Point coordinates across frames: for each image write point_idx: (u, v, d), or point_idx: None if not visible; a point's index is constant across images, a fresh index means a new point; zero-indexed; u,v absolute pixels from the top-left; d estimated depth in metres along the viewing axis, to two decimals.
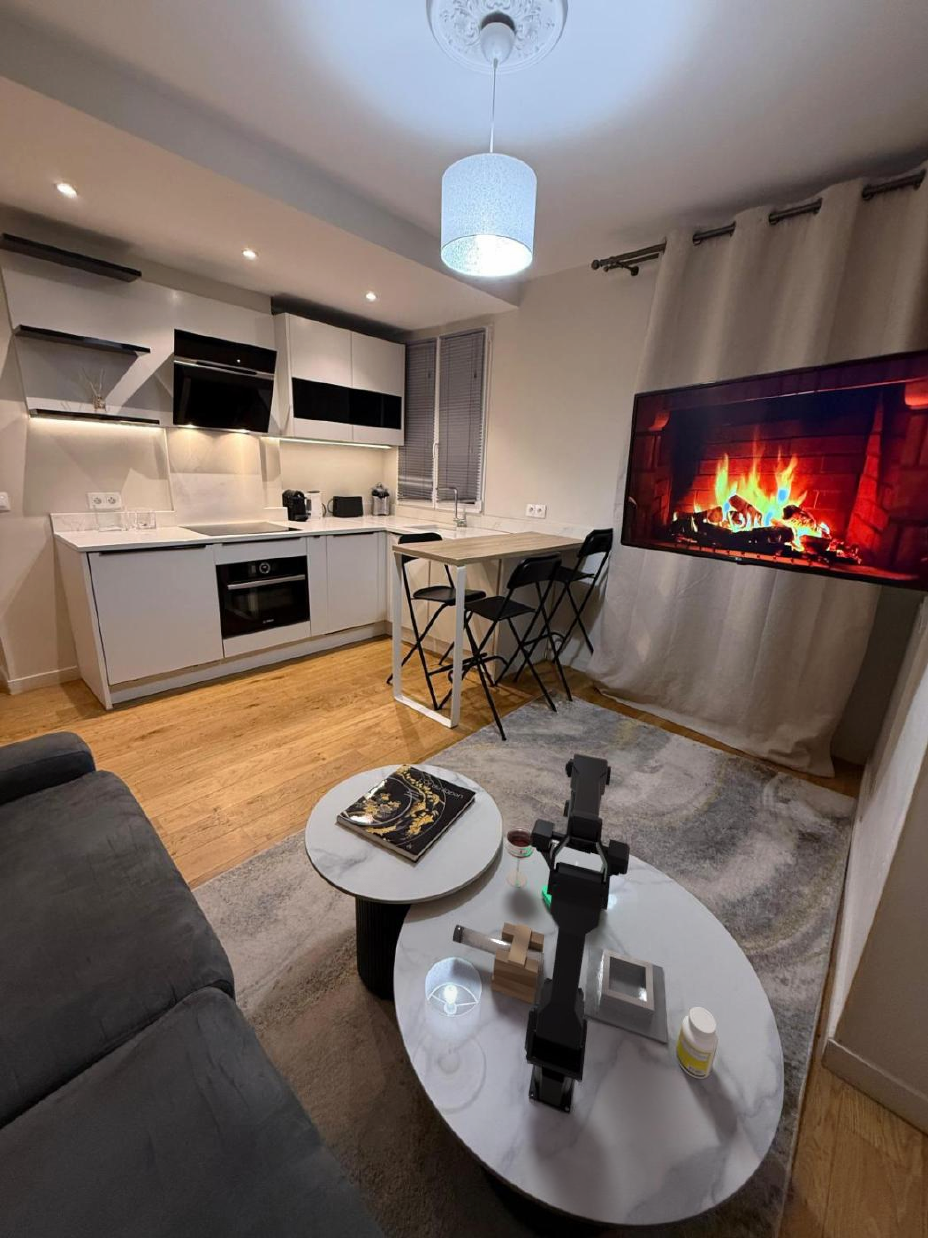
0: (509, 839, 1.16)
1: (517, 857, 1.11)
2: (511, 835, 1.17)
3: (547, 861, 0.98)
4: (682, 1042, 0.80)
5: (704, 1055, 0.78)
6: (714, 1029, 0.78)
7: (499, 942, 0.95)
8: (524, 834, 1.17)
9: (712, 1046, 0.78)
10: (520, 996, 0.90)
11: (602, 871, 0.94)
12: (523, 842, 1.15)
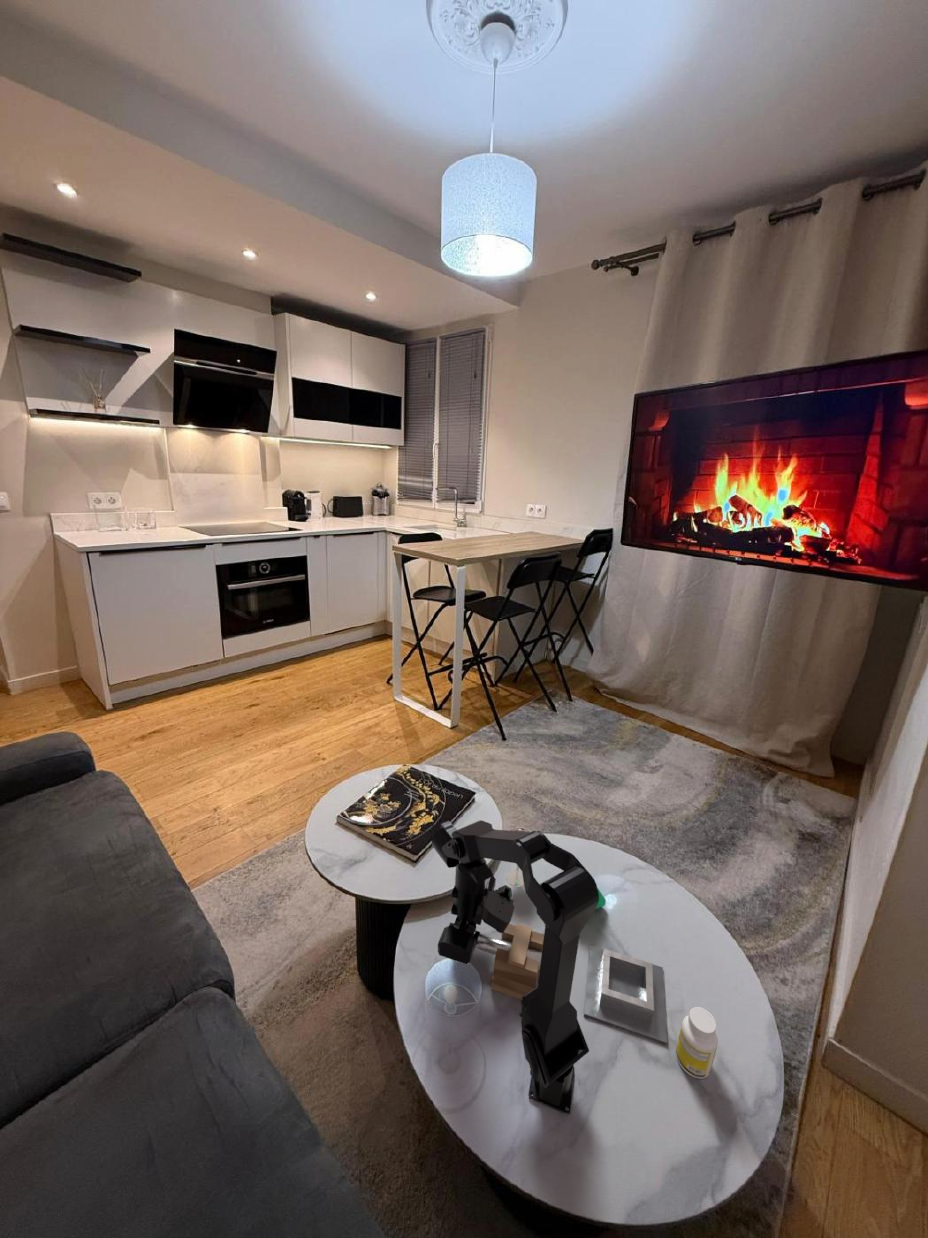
0: None
1: None
2: None
3: None
4: (682, 1042, 0.80)
5: (704, 1055, 0.78)
6: (714, 1029, 0.78)
7: (499, 942, 0.95)
8: None
9: (712, 1046, 0.78)
10: (520, 996, 0.90)
11: None
12: None
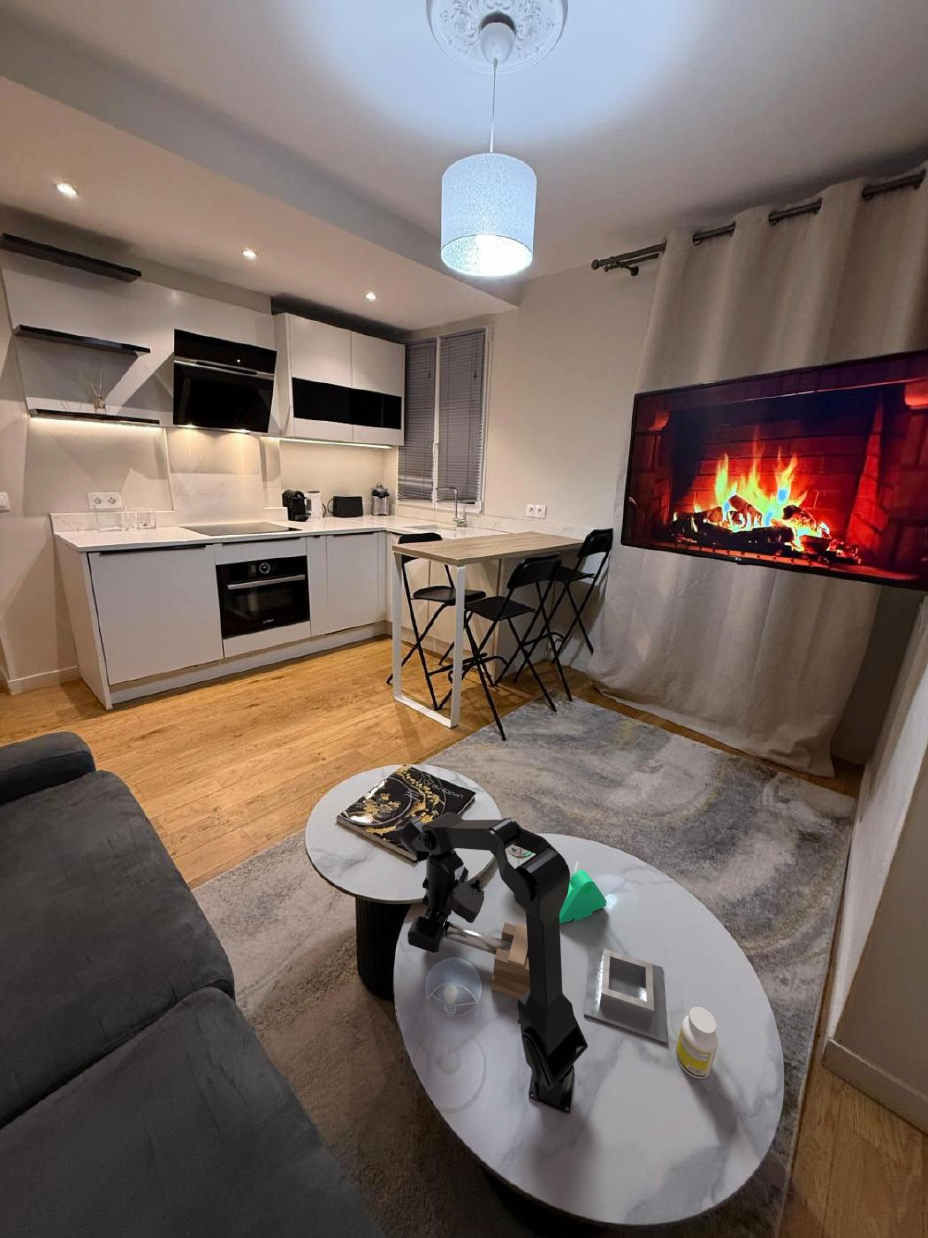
0: None
1: (517, 857, 1.11)
2: None
3: None
4: (682, 1042, 0.80)
5: (704, 1055, 0.78)
6: (714, 1029, 0.78)
7: (470, 932, 0.96)
8: None
9: (712, 1046, 0.78)
10: (520, 996, 0.90)
11: None
12: None
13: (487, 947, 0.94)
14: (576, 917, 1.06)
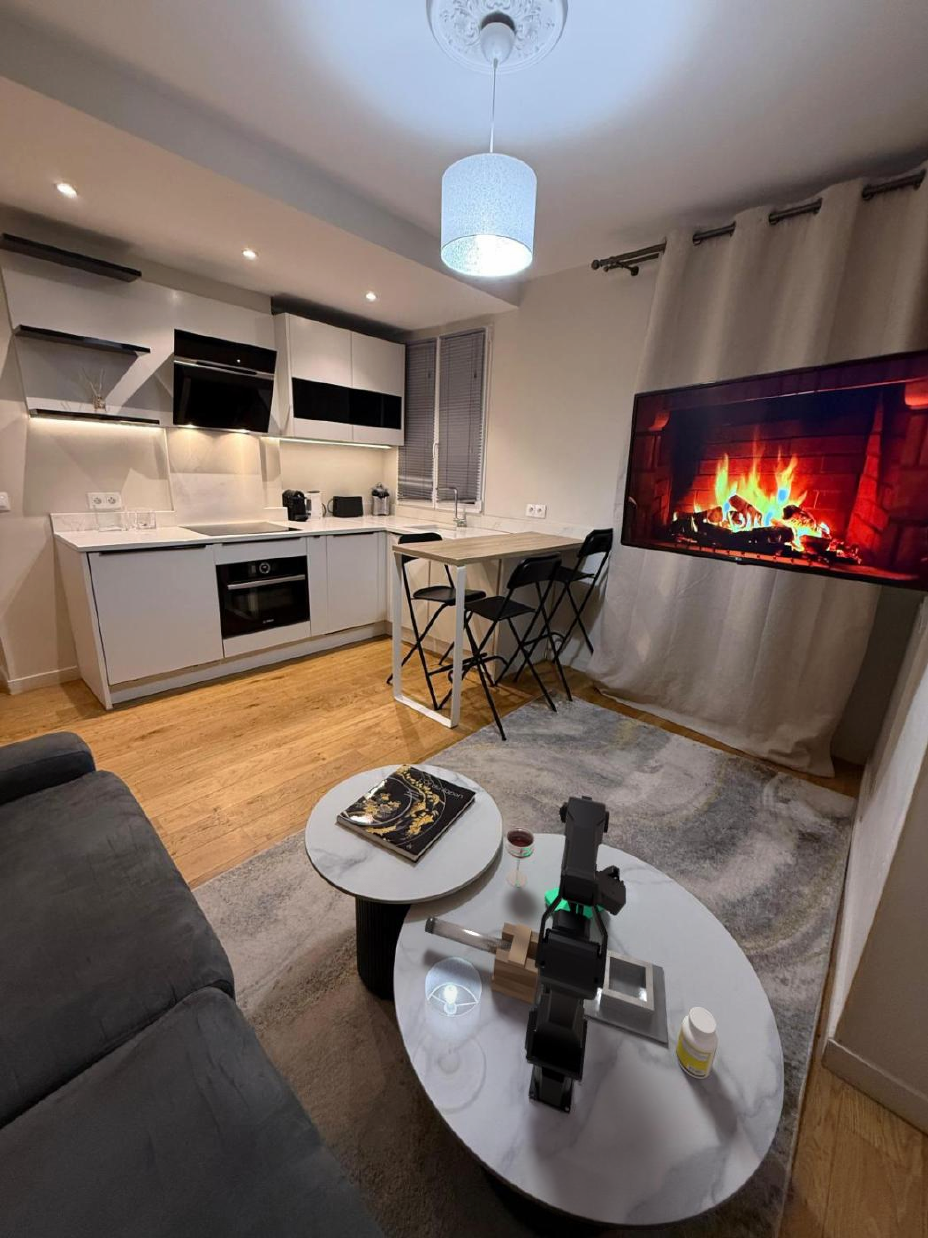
0: (509, 839, 1.16)
1: (517, 857, 1.11)
2: (511, 835, 1.17)
3: None
4: (682, 1042, 0.80)
5: (704, 1055, 0.78)
6: (714, 1029, 0.78)
7: (470, 932, 0.96)
8: (524, 834, 1.17)
9: (712, 1046, 0.78)
10: (520, 996, 0.90)
11: None
12: (523, 842, 1.15)
13: (487, 947, 0.94)
14: None
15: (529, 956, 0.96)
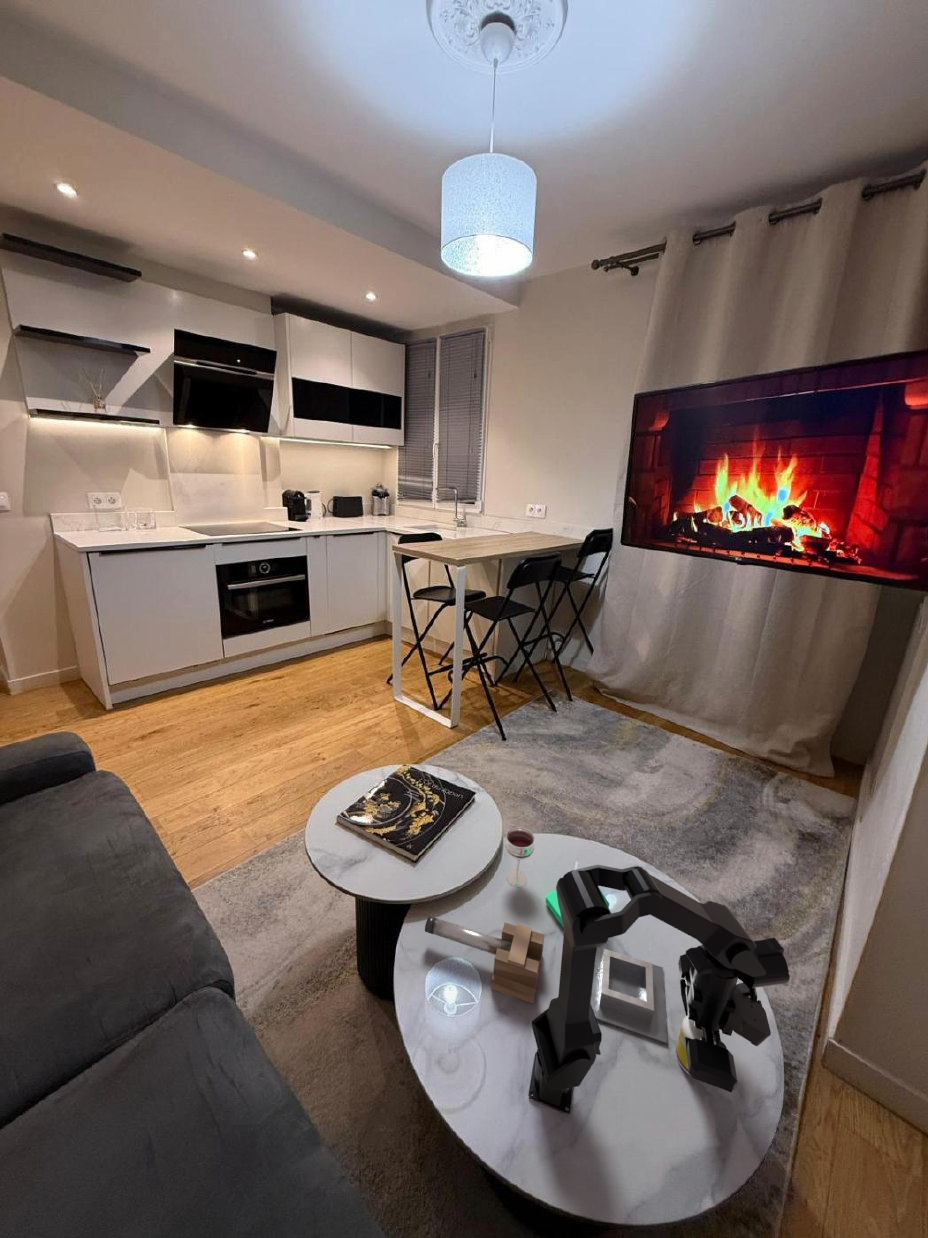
0: (509, 839, 1.16)
1: (517, 857, 1.11)
2: (511, 835, 1.17)
3: None
4: (682, 1042, 0.80)
5: None
6: None
7: (470, 932, 0.96)
8: (524, 834, 1.17)
9: None
10: (520, 996, 0.90)
11: None
12: (523, 842, 1.15)
13: (487, 947, 0.94)
14: None
15: (529, 956, 0.96)
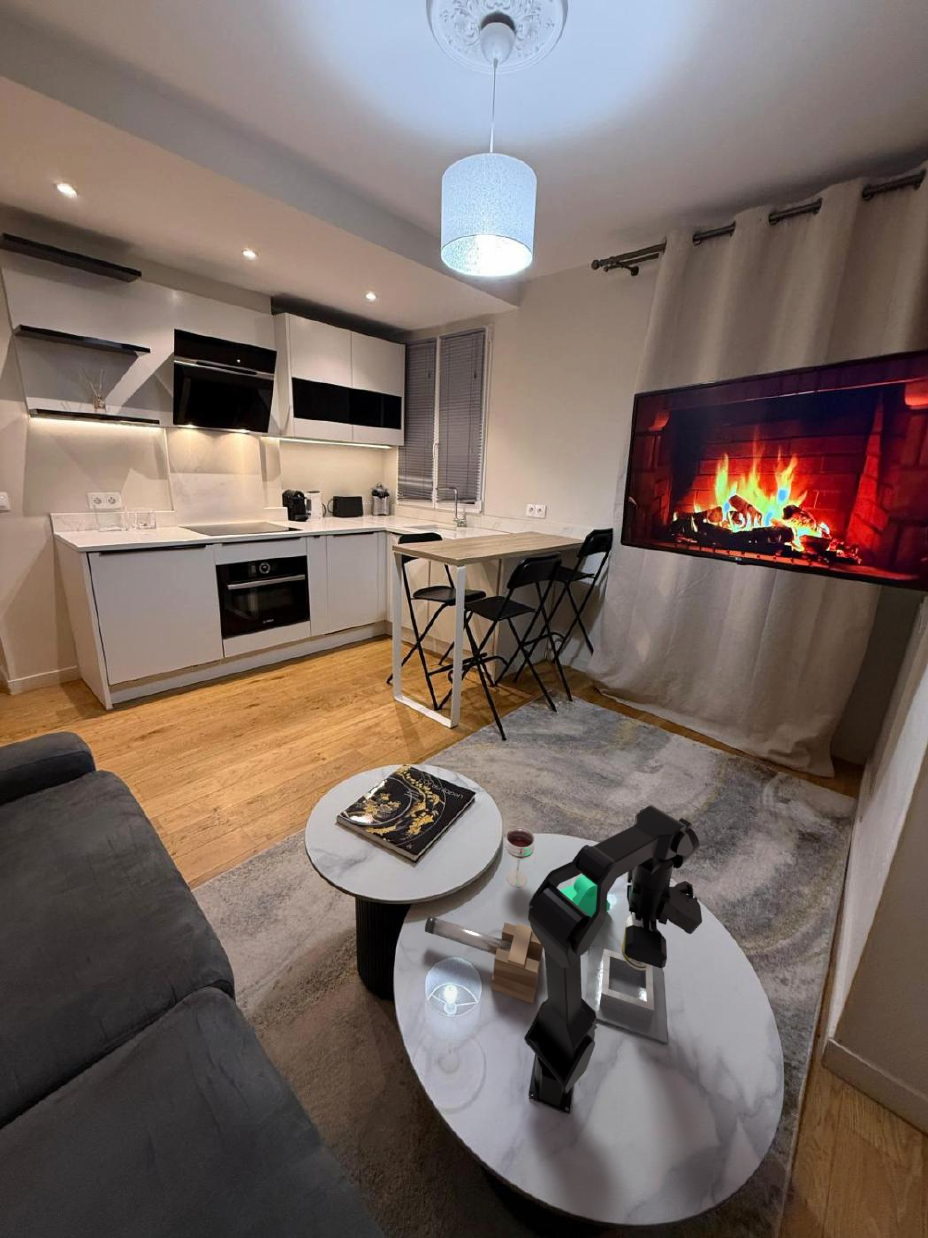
0: (509, 839, 1.16)
1: (517, 857, 1.11)
2: (511, 835, 1.17)
3: None
4: None
5: None
6: None
7: (470, 932, 0.96)
8: (524, 834, 1.17)
9: None
10: (520, 996, 0.90)
11: None
12: (523, 842, 1.15)
13: (487, 947, 0.94)
14: None
15: (529, 956, 0.96)
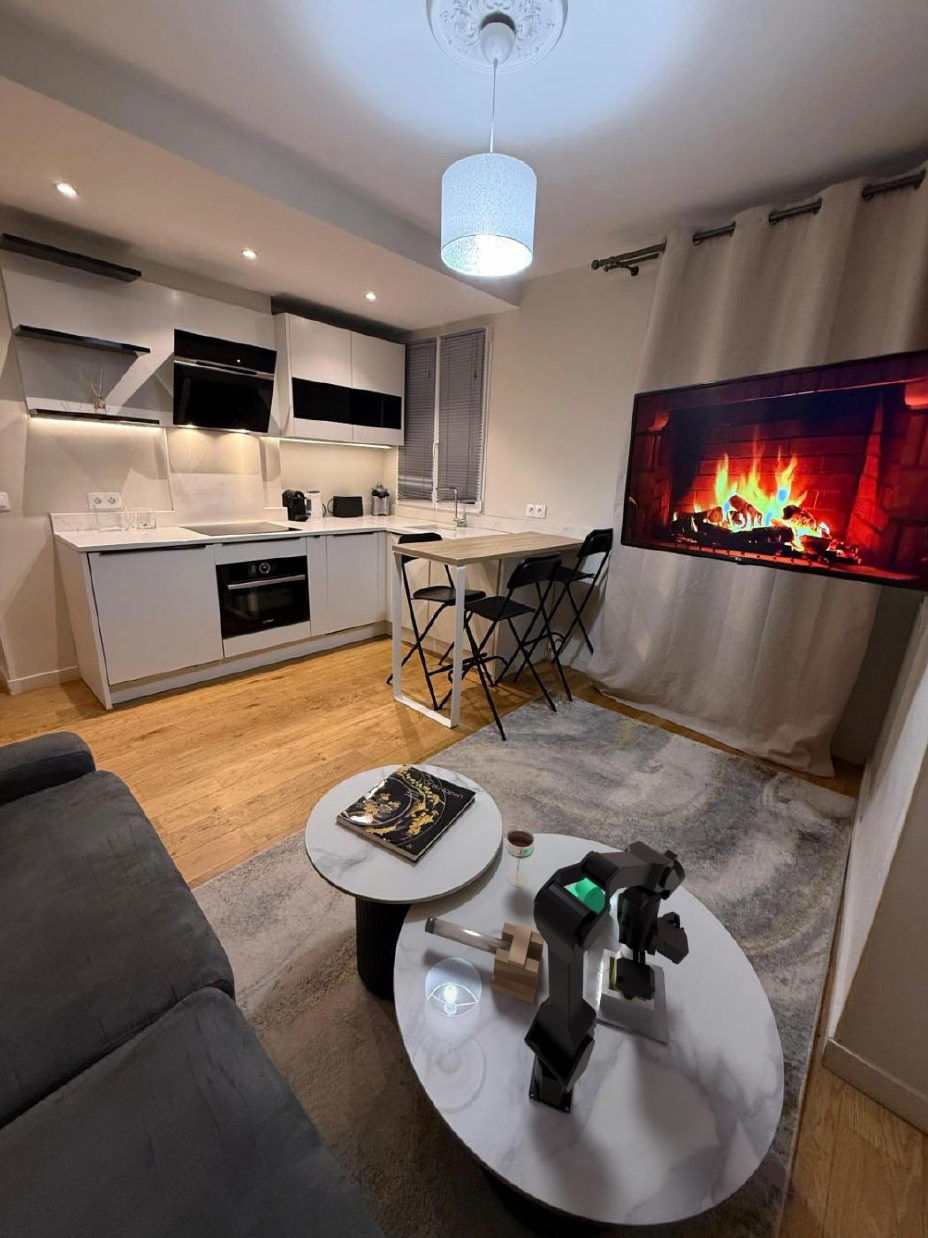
0: (509, 839, 1.16)
1: (517, 857, 1.11)
2: (511, 835, 1.17)
3: None
4: (614, 972, 0.90)
5: None
6: None
7: (470, 932, 0.96)
8: (524, 834, 1.17)
9: None
10: (520, 996, 0.90)
11: None
12: (523, 842, 1.15)
13: (487, 947, 0.94)
14: None
15: (529, 956, 0.96)
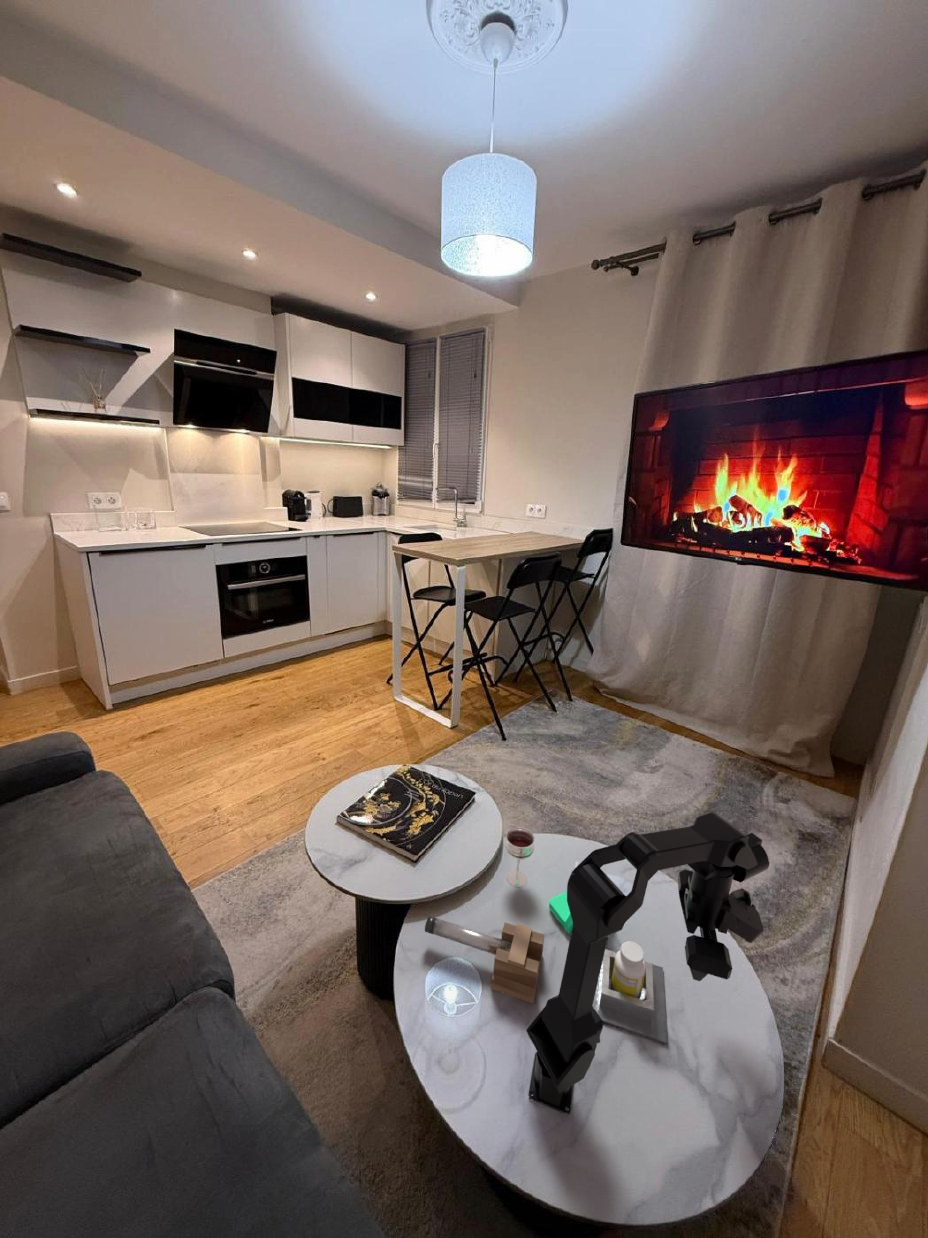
0: (509, 839, 1.16)
1: (517, 857, 1.11)
2: (511, 835, 1.17)
3: None
4: (614, 972, 0.90)
5: (632, 982, 0.88)
6: (641, 958, 0.88)
7: (470, 932, 0.96)
8: (524, 834, 1.17)
9: (639, 973, 0.88)
10: (520, 996, 0.90)
11: None
12: (523, 842, 1.15)
13: (487, 947, 0.94)
14: None
15: (529, 956, 0.96)
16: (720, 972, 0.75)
